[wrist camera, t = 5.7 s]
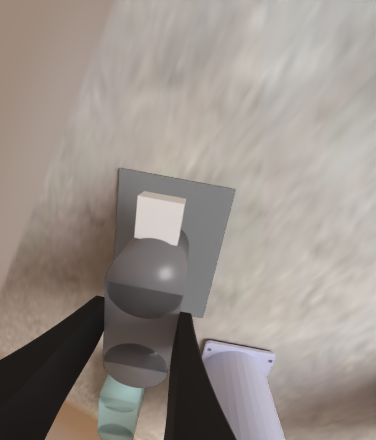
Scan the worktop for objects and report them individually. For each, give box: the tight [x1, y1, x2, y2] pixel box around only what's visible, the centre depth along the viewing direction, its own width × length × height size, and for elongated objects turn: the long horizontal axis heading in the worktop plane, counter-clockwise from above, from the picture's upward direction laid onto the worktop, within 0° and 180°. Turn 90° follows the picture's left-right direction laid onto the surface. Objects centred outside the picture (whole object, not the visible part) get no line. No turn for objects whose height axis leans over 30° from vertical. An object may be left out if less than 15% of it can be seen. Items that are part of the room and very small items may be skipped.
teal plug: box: [98, 374, 145, 440], centre depth 22 cm, size 12×4×4 cm, turn 170°
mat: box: [114, 168, 235, 318], centre depth 18 cm, size 14×10×1 cm
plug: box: [103, 191, 189, 388], centre depth 12 cm, size 12×4×4 cm, turn 170°
